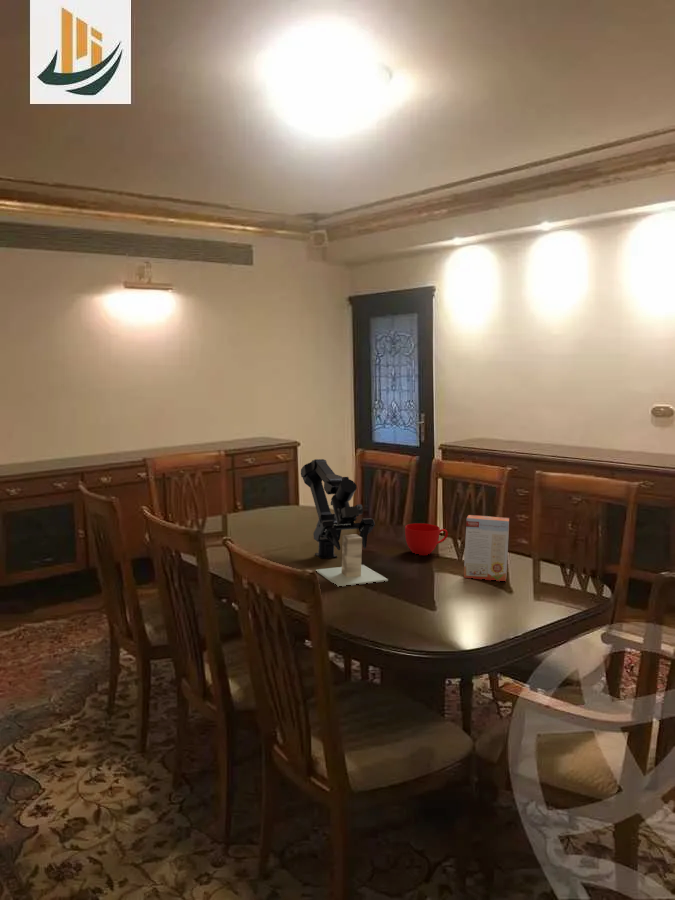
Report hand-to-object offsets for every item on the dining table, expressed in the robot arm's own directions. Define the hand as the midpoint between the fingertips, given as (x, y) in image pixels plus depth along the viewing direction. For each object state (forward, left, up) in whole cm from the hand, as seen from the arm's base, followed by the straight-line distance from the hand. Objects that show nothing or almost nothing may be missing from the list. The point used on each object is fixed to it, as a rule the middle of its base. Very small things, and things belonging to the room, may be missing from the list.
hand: (352, 548), depth 242 cm
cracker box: (+17, +42, -10) cm, 46 cm away
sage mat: (0, 0, -9) cm, 9 cm away
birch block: (0, 0, -9) cm, 9 cm away
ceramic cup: (-17, +40, -10) cm, 45 cm away
